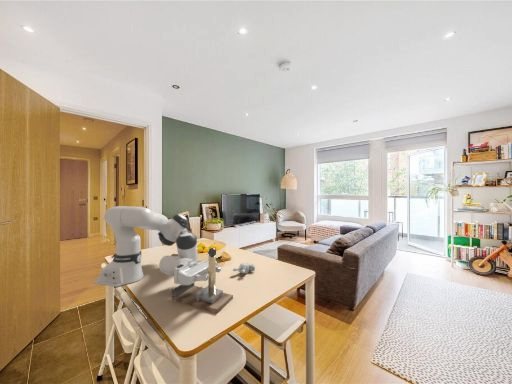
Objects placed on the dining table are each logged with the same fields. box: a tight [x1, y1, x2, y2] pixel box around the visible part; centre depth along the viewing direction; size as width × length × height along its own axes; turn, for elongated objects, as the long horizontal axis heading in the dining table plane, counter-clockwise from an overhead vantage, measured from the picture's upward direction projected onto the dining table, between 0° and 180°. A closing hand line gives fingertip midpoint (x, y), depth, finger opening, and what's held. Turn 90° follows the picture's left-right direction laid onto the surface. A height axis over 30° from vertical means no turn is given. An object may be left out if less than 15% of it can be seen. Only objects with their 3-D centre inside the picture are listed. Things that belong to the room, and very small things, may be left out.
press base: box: [170, 282, 234, 314], centre depth 89 cm, size 24×12×4 cm, turn 67°
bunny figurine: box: [232, 262, 256, 275], centre depth 118 cm, size 10×5×15 cm
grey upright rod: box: [196, 247, 224, 304], centre depth 87 cm, size 7×10×21 cm
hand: (213, 274), depth 86 cm, fingers open, 8 cm apart
